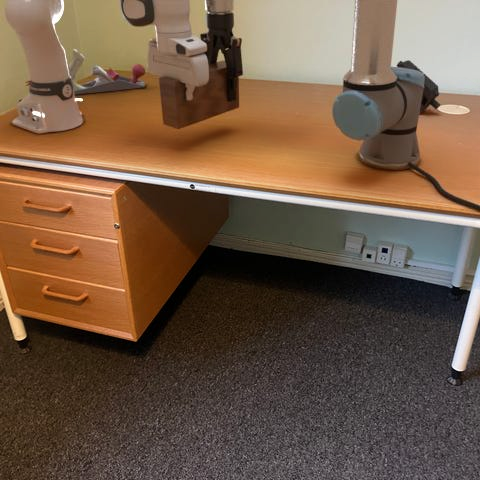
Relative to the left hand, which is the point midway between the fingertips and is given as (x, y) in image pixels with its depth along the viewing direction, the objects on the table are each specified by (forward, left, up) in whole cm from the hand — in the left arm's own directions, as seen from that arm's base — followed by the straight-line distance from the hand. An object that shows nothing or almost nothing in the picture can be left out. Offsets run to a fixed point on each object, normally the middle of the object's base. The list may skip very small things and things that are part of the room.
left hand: (178, 96), depth 141 cm
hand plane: (-57, +36, -14) cm, 69 cm away
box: (+2, +8, -7) cm, 11 cm away
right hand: (+4, +16, -4) cm, 17 cm away
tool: (+49, +59, -14) cm, 77 cm away
